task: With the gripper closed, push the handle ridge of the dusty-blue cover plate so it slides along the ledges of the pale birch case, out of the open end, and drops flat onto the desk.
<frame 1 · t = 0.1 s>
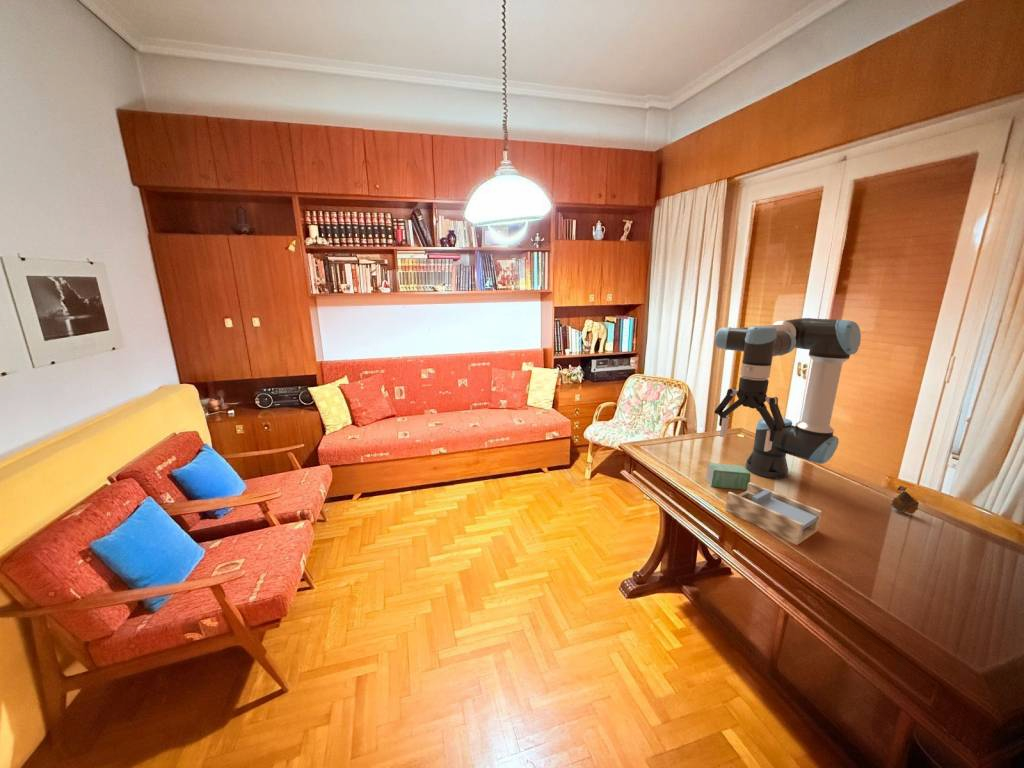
hand: (744, 443, 121), 28 cm above the table, fingers open, 13 cm apart
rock: (897, 511, 133), on the table
box: (726, 485, 152), on the table
cover plate: (782, 514, 124), point 4 cm above the table, touching case
case: (769, 520, 128), on the table
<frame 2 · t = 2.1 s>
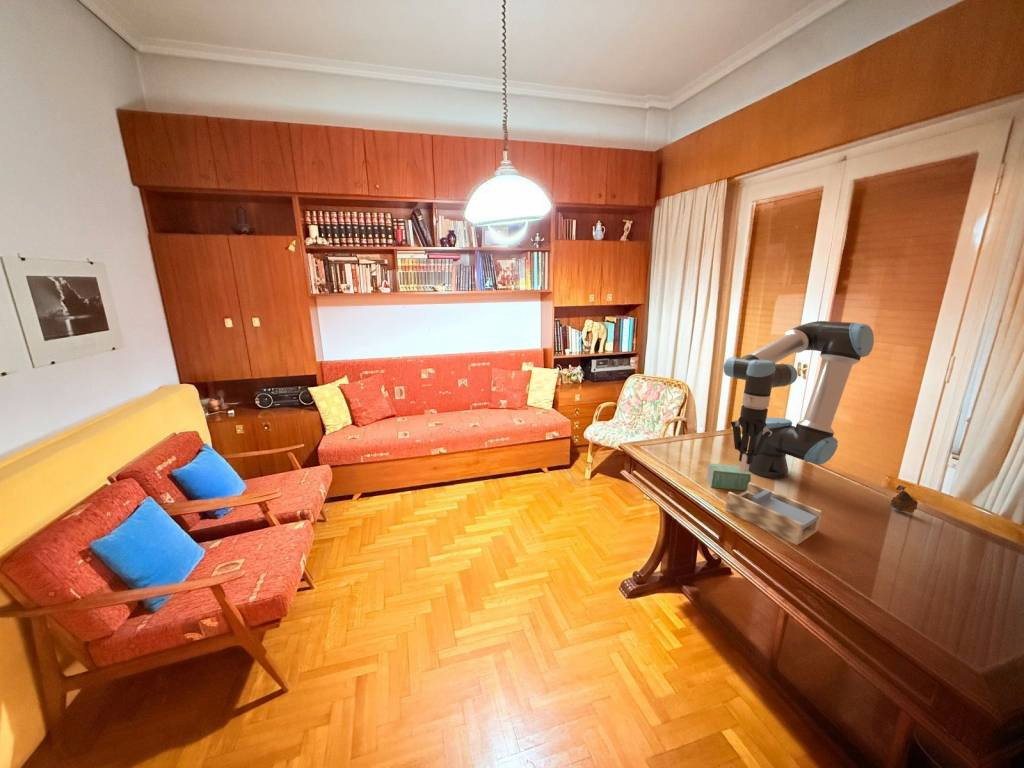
hand: (744, 471, 133), 14 cm above the table, fingers closed
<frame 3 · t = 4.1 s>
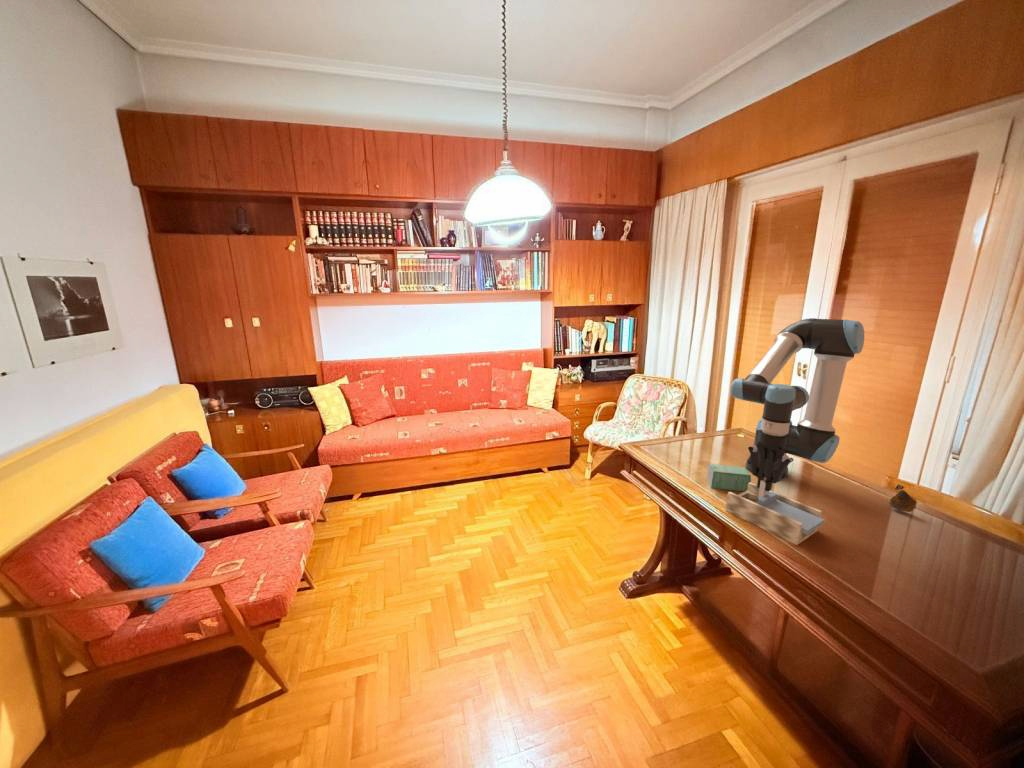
hand: (762, 497, 129), 7 cm above the table, fingers closed
cover plate: (788, 517, 123), point 4 cm above the table, touching case, gripper
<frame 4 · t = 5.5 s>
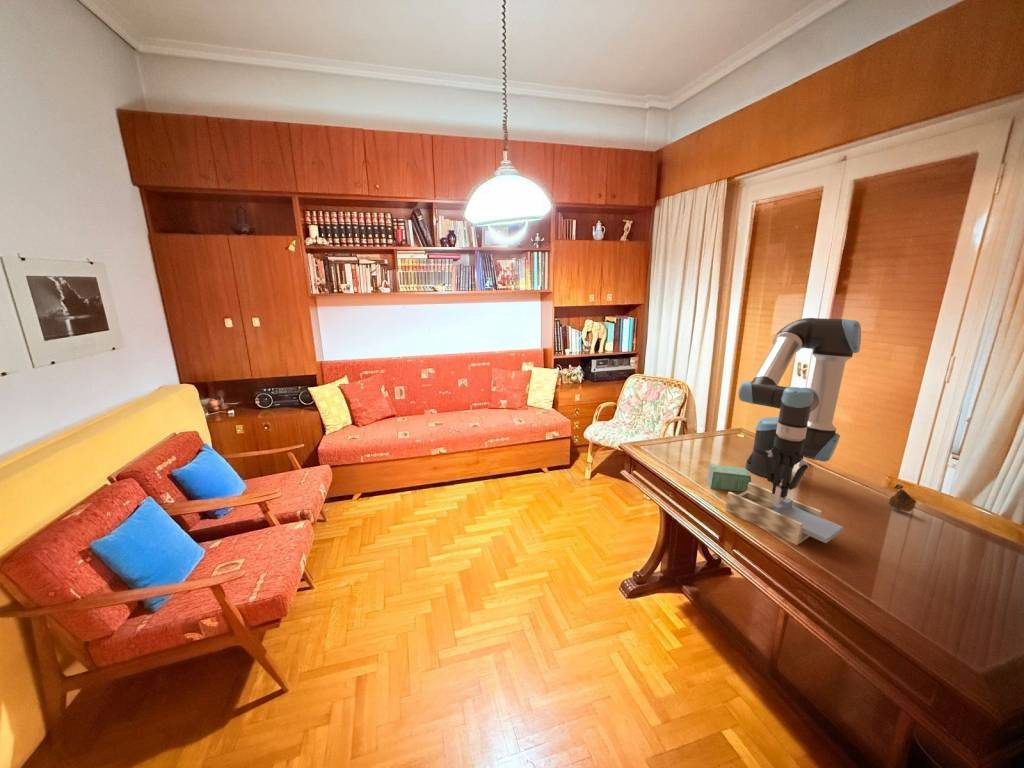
hand: (777, 504, 125), 7 cm above the table, fingers closed
cover plate: (805, 524, 119), point 4 cm above the table, touching case, gripper
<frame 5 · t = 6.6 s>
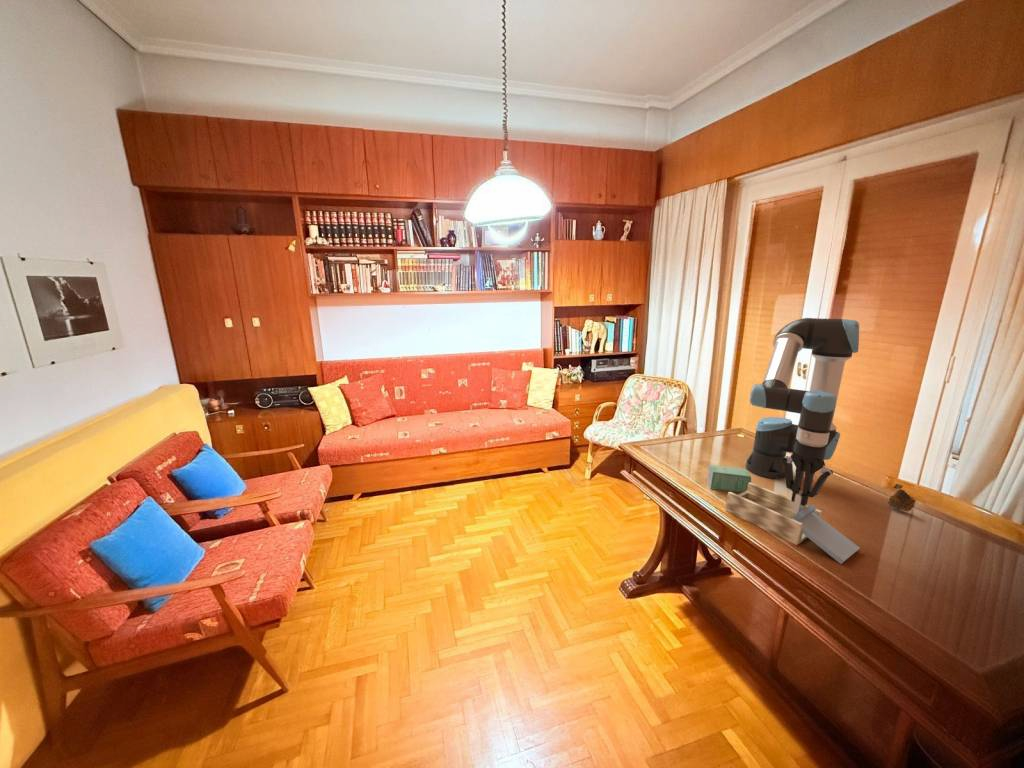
hand: (797, 512, 120), 7 cm above the table, fingers closed
cover plate: (822, 536, 115), point 3 cm above the table, tilted 21°, touching gripper
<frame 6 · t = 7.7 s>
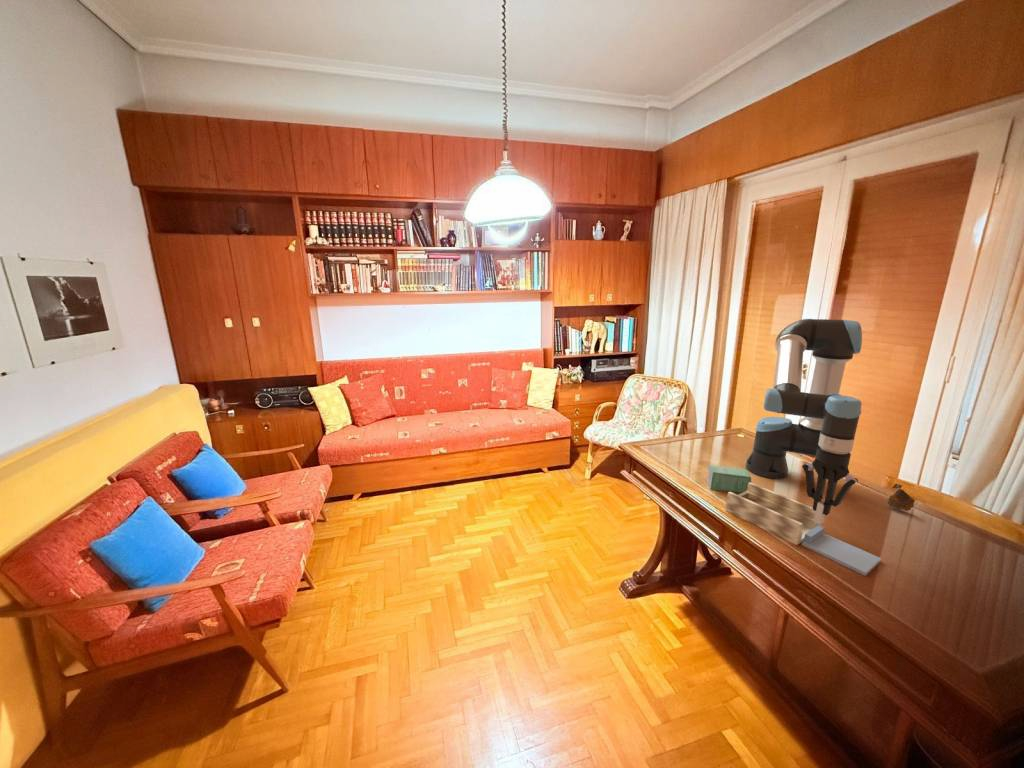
hand: (818, 521, 116), 7 cm above the table, fingers closed
cover plate: (839, 554, 112), on the table
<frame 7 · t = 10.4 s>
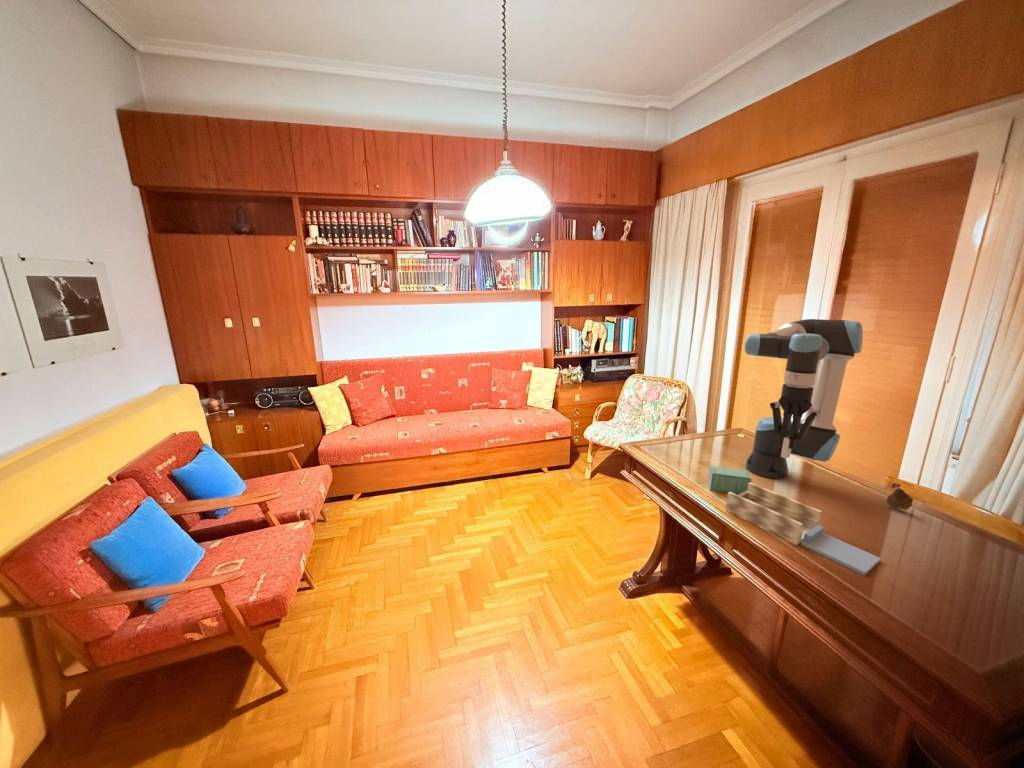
hand: (785, 456, 122), 23 cm above the table, fingers closed
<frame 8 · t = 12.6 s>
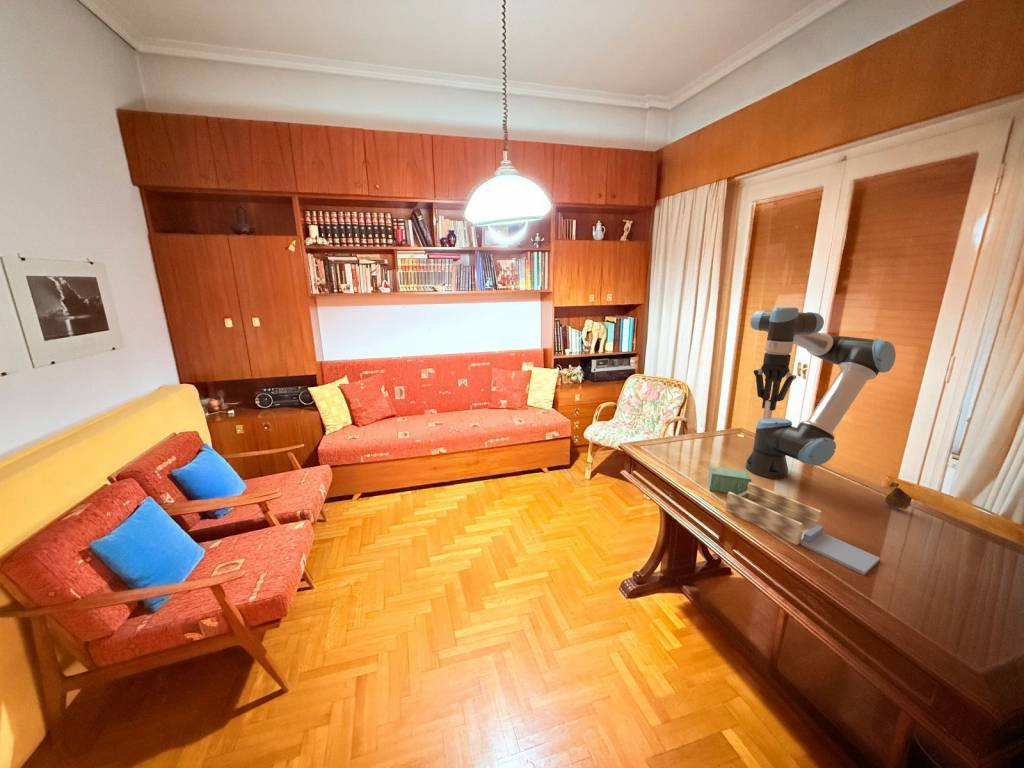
hand: (766, 418, 137), 30 cm above the table, fingers closed
at the end: cover plate inside the target area (7.4 cm from its centre), on the table; cover plate tilted 0°; the gripper is holding nothing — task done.
